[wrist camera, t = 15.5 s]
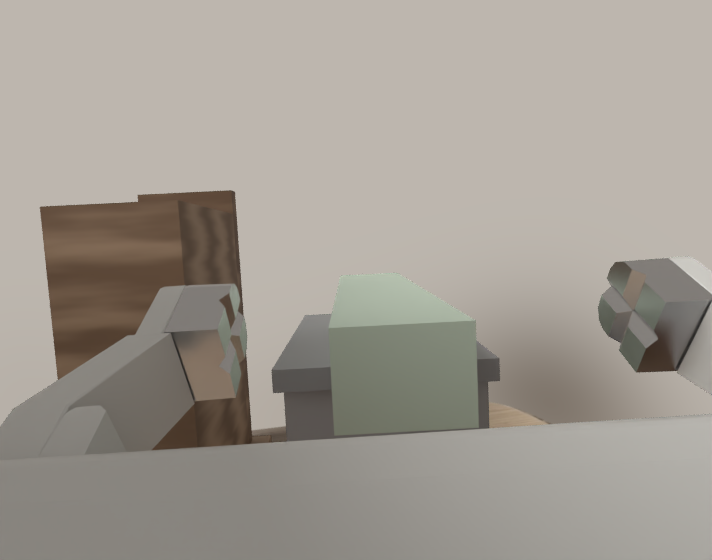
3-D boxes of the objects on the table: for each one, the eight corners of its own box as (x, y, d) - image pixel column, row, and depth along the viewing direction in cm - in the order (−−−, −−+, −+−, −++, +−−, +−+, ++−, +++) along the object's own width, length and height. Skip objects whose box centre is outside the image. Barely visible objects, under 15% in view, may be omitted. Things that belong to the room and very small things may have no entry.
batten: (478, 427, 13) (475, 320, 12) (334, 435, 13) (328, 328, 12) (399, 315, 33) (397, 272, 32) (342, 317, 33) (340, 275, 32)
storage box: (508, 740, 21) (499, 358, 20) (296, 753, 21) (271, 370, 20) (442, 535, 36) (434, 308, 35) (318, 542, 36) (305, 315, 35)
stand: (229, 553, 35) (200, 162, 33) (46, 564, 35) (3, 172, 33) (271, 445, 54) (254, 192, 52) (152, 451, 54) (130, 198, 52)
